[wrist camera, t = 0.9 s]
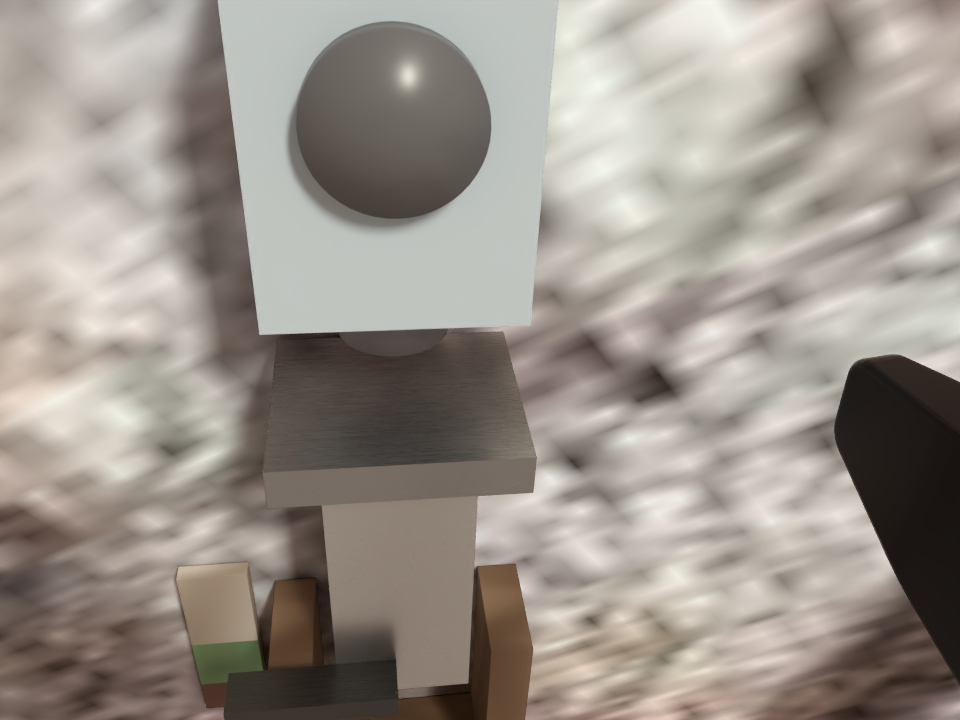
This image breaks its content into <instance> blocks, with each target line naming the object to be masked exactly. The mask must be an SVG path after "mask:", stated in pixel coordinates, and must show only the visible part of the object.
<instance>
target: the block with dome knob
mask: <svg viewBox="0 0 960 720" xmlns="http://www.w3.org/2000/svg"><path fill="white" fill-rule="evenodd" d="M218 8H219V16H220V24H221V32H222V40H223V48H224V56H225V64H226V72H227V80H228V88H229V96H230V104H231V112H232V120H233V128H234V136H235V144H236V152H237V160H238V168H239V176H240V184H241V192H242V200H243V208H244V216H245V224H246V232H247V240H248V247H249V255H250V263H251V271H252V279H253V287H254V295H255V303H256V311H257V319H258V327H259V335H268V334H297V333H325V332H338V333H339V335H340V337H341V339H342V340H343V341H344V342H345V343H346V344H348V345H349V346H351V347H352V348H354V349H356V350H359V351H361V352H364V353H367V354H372V355H377V356H388V357H396V356H406V355H412V354H416V353H420V352H423V351H425V350H428V349H430V348H432V347H433V346H435V345H436V344H438V343H439V342H440V341H441V340H442V339H443V338H444V337H445V335H446V333H447V330H448V328H469V327H497V326H526V325H531V313H532V302H533V290H534V278H535V267H536V255H537V243H538V232H539V220H540V208H541V197H542V185H543V173H544V162H545V150H546V138H547V127H548V115H549V103H550V92H551V80H552V68H553V57H554V45H555V33H556V22H557V10H558V0H218Z"/></svg>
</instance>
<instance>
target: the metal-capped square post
mask: <svg viewBox="0 0 960 720" xmlns="http://www.w3.org/2000/svg"><path fill="white" fill-rule="evenodd" d="M536 459H537V457H536V453H535V449H534V446H533V442H532V438H531V434H530V431H529V427H528V423H527V419H526V416H525V412H524V408H523V404H522V401H521V397H520V393H519V389H518V386H517V382H516V378H515V374H514V370H513V367H512V363H511V359H510V355H509V352H508V348H507V344H506V340H505V337H504V333H503V332H477V333H451V334H446V335H445V337H444V338H443V339H442V340H441V341H440V342H439V343H438V344H436V345H435V346H433V347H432V348H430V349H428V350H425V351H423V352H420V353H416V354H412V355H406V356H396V357H388V356H377V355H372V354H367V353H364V352H361V351H359V350H356V349H354V348H352V347H351V346H349V345H348V344H346V343H345V342H344V341H343V340H342V339H341V338H316V339H290V340H277V347H276V356H275V365H274V373H273V382H272V391H271V400H270V409H269V418H268V427H267V436H266V444H265V453H264V462H263V471H262V474H263V481H264V488H265V496H266V503H267V509H270V508H287V507H304V506H320V505H322V515H323V526H324V537H325V548H326V559H327V570H328V581H329V592H330V603H331V614H332V625H333V635H334V646H335V657H336V664H335V665H322V666H310V667H298V668H286V669H274V670H262V671H250V672H238V673H229V674H228V682H227V691H226V699H225V707H224V719H225V720H346V719H357V718H368V717H379V716H390V715H399V706H398V689H409V688H420V687H432V686H443V685H455V684H466V683H468V679H469V658H470V638H471V618H472V598H473V578H474V558H475V538H476V518H477V498H478V496H485V495H502V494H519V493H533V489H534V479H535V469H536Z"/></svg>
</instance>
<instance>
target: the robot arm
mask: <svg viewBox="0 0 960 720" xmlns="http://www.w3.org/2000/svg"><path fill="white" fill-rule="evenodd" d="M834 434H835V440H836V444H837V447H838V450H839V452H840V454H841V457H842V459H843V461H844V463H845V465H846V468H847V470H848V472H849V474H850V476H851V479H852V481H853V483H854V485H855V487H856V490H857V492H858V494H859V496H860V499H861V501H862V503H863V505H864V507H865V510H866V512H867V514H868V516H869V518H870V521H871V523H872V525H873V527H874V529H875V532H876V534H877V536H878V538H879V540H880V543H881V545H882V547H883V549H884V551H885V554H886V556H887V558H888V560H889V562H890V564H891V566H892V568H893V570H894V572H895V574H896V576H897V579H898V581H899V582H900V584H901V586H902V588H903V590H904V591H905V593H906V595H907V597H908V599H909V600H910V602H911V604H912V606H913V607H914V609H915V611H916V612H917V614H918V616H919V617H920V619H921V621H922V623H923V624H924V626H925V628H926V629H927V631H928V633H929V634H930V636H931V638H932V639H933V641H934V643H935V645H936V646H937V648H938V650H939V651H940V653H941V655H942V656H943V658H944V660H945V662H946V663H947V665H948V667H949V668H950V670H951V672H952V673H953V675H954V677H955V678H956V680H957V682H958V684H959V685H960V382H958V381H956V380H954V379H952V378H950V377H947V376H945V375H943V374H941V373H939V372H937V371H934V370H932V369H930V368H928V367H926V366H924V365H921V364H919V363H917V362H915V361H913V360H910V359H908V358H906V357H904V356H901V355H884V356H878V357H871V358H865V359H861V360H858V361H856V362H855V363H854V364H853V365H852V367H851V368H850V370H849V372H848V376H847V379H846V383H845V387H844V390H843V394H842V398H841V401H840V405H839V409H838V412H837V416H836V420H835V426H834Z"/></svg>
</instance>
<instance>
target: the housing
mask: <svg viewBox="0 0 960 720" xmlns="http://www.w3.org/2000/svg"><path fill="white" fill-rule="evenodd" d="M176 582H177V586H178V590H179V594H180V599H181V603H182V607H183V611H184V615H185V619H186V624H187V628H188V632H189V636H190V640H191V645H192V649H193V653H194V657H195V661H196V665H197V670H198V674H199V678H200V682H201V686H202V691H203V695H204V699H205V703H206V707H207V708H216V707H225V699H226V691H227V682H228V674H229V673H238V672H250V671H262V670H266V665H265V659H264V653H263V647H262V641H261V635H260V629H259V623H258V617H257V611H256V605H255V599H254V593H253V587H252V581H251V575H250V569H249V563H248V562H242V563H227V564H212V565H198V566H183V567H179V568H178V573H177V578H176ZM532 655H533V646H532V641H531V637H530V632H529V627H528V622H527V617H526V612H525V607H524V603H523V598H522V593H521V588H520V583H519V578H518V574H517V569H516V564H506V565H492V566H478V569H477V588H476V607H475V626H474V644H473V663H472V682H471V693H466V694H455V695H444V696H432V697H421V698H410V699H399V700H398V706H399V715H390V716H379V717H368V718H357V719H346V720H525V716H526V707H527V698H528V690H529V681H530V673H531V664H532ZM322 665H324V657H323V647H322V637H321V628H320V618H319V608H318V599H317V589H316V579H315V578H308V579H293V580H279V581H275V590H274V602H273V614H272V626H271V638H270V651H269V663H268V670H274V669H286V668H298V667H310V666H322Z"/></svg>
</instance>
